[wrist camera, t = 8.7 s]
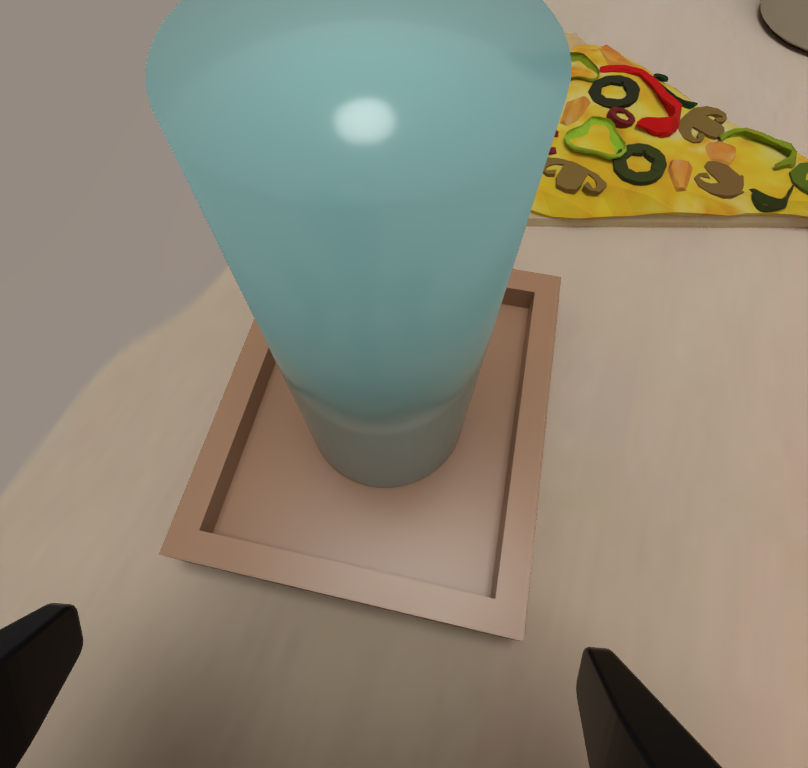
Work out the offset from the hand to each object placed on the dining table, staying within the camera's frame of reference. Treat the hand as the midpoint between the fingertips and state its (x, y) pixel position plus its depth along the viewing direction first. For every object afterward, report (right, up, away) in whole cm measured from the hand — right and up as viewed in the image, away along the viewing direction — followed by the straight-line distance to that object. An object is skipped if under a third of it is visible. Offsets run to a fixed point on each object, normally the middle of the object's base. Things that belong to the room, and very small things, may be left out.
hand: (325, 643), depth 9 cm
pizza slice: (+16, +16, +19) cm, 29 cm away
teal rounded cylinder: (+1, +3, +11) cm, 12 cm away
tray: (+1, +3, +12) cm, 12 cm away
